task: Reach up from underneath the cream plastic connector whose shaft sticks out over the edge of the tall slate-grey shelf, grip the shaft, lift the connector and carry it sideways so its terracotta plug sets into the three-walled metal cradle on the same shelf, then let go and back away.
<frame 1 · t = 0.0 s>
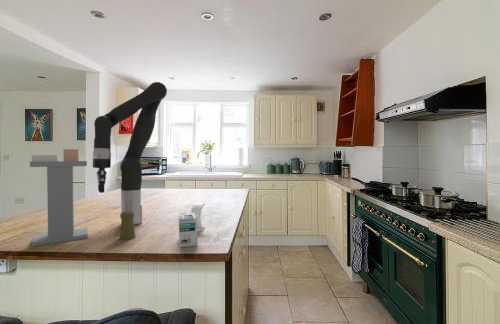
hand: (101, 191, 123), 17 cm above the counter, tool pointing down, fingers open, 8 cm apart
headphone stand: (197, 230, 118), on the counter
cork: (127, 238, 107), on the counter
stand: (62, 237, 107), on the counter
connector: (72, 161, 117), point 32 cm above the counter, touching stand
light bulb box: (187, 243, 100), on the counter
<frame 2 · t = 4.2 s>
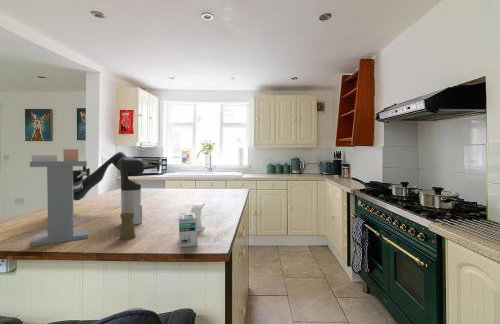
hand: (73, 166, 134), 29 cm above the counter, tool pointing upward, fingers open, 8 cm apart
nothing on the counter moved.
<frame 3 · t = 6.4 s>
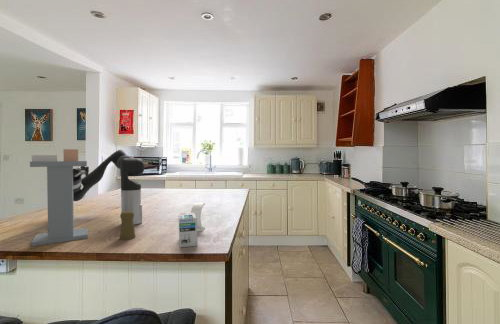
hand: (71, 164, 124), 30 cm above the counter, tool pointing upward, fingers open, 8 cm apart
nothing on the counter moved.
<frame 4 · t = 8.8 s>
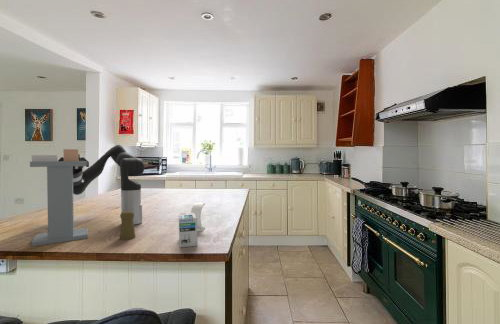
hand: (72, 154, 117), 35 cm above the counter, tool pointing upward, fingers closed on connector, 3 cm apart
connector: (72, 161, 117), point 32 cm above the counter, touching gripper, stand
everything else where it was.
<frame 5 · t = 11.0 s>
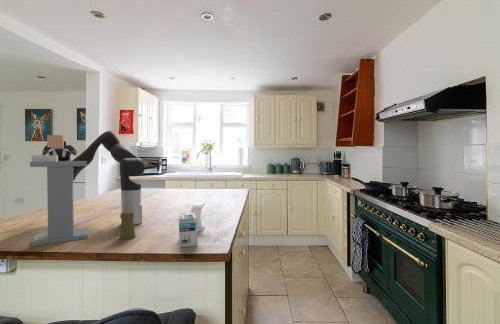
hand: (58, 141, 115), 41 cm above the counter, tool pointing upward, fingers closed on connector, 3 cm apart
connector: (58, 148, 114), point 38 cm above the counter, touching gripper
everything else where it was.
when the fingers open (36 cm above the counter, at t = 13.4 s): connector stays where it is, resting on stand.
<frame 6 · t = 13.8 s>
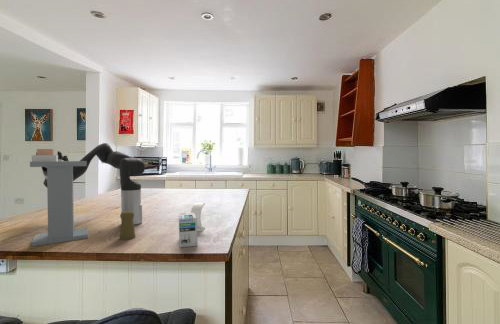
hand: (48, 152, 113), 36 cm above the counter, tool pointing upward, fingers open, 6 cm apart
connector: (48, 161, 112), point 32 cm above the counter, touching stand
everything else where it was.
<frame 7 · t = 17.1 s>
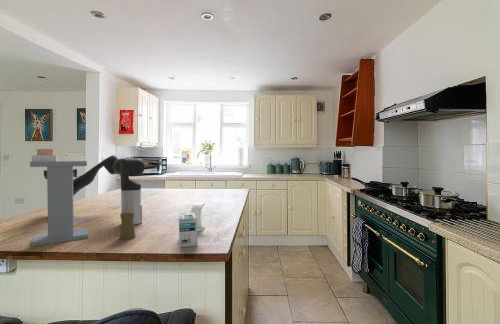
hand: (60, 167, 132), 28 cm above the counter, tool pointing upward, fingers open, 8 cm apart
nothing on the counter moved.
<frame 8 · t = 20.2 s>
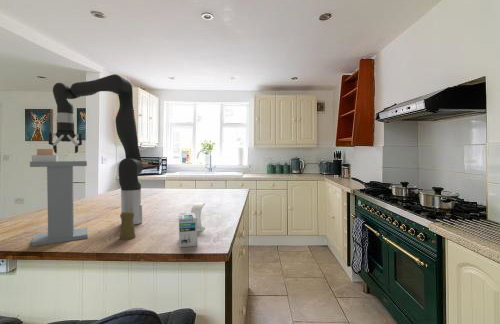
hand: (66, 153, 135), 36 cm above the counter, tool pointing down, fingers open, 8 cm apart
nothing on the counter moved.
at the end: connector 0.1 cm from the target spot, point 32.0 cm above the counter; the gripper is holding nothing; connector tilted 0° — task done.
